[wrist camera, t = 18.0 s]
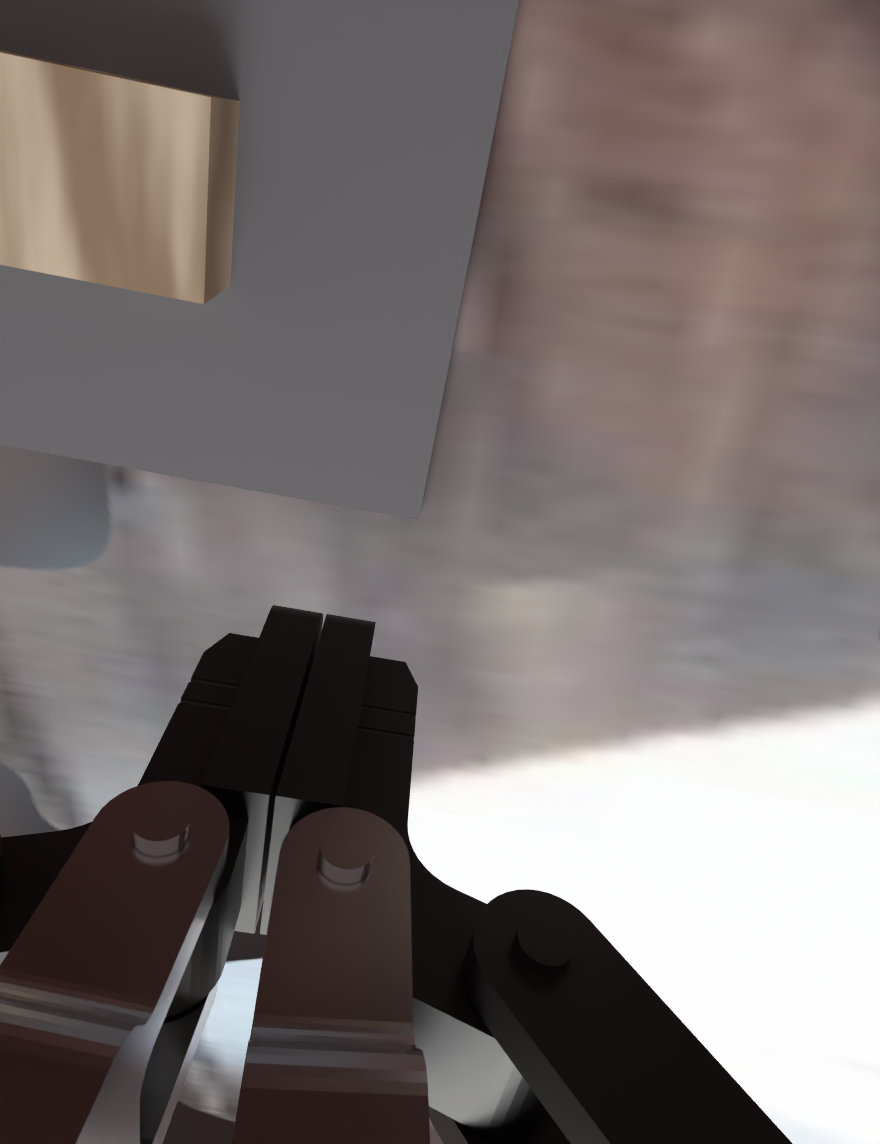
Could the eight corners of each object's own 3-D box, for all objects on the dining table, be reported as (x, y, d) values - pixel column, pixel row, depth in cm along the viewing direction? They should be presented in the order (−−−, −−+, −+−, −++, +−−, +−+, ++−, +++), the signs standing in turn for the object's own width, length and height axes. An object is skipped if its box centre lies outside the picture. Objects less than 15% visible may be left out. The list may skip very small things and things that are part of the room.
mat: (547, -150, 27) (550, -159, 26) (419, 511, 40) (418, 520, 39) (-101, -308, 26) (-120, -323, 25) (-19, 432, 38) (-30, 439, 38)
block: (210, 97, 27) (-118, 27, 26) (203, 304, 30) (-88, 247, 30) (239, 100, 30) (-50, 39, 30) (230, 286, 34) (-30, 235, 33)
